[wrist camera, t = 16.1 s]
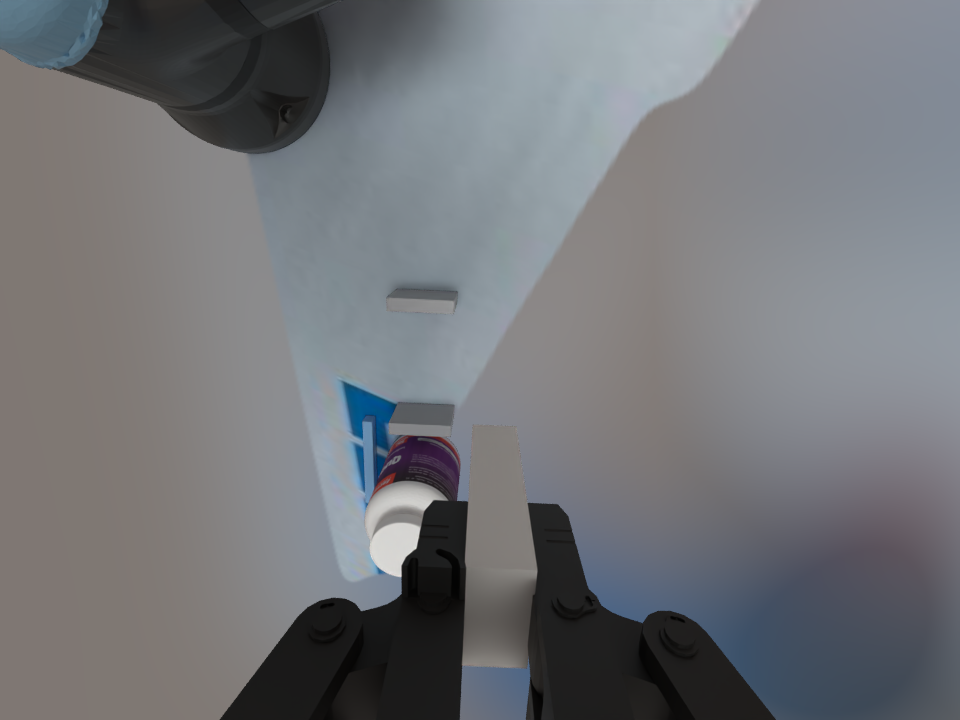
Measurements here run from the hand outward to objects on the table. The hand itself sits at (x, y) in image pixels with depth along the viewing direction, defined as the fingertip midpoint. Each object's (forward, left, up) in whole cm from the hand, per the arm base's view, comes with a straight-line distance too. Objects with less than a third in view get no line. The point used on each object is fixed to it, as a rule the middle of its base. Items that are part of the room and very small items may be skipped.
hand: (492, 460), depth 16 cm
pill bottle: (-6, -18, -31) cm, 36 cm away
